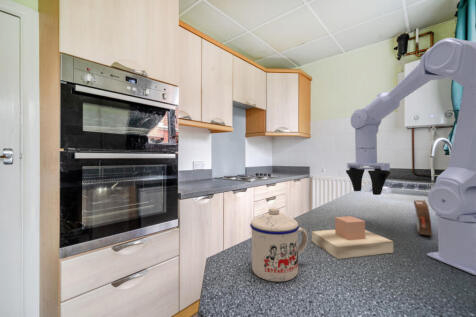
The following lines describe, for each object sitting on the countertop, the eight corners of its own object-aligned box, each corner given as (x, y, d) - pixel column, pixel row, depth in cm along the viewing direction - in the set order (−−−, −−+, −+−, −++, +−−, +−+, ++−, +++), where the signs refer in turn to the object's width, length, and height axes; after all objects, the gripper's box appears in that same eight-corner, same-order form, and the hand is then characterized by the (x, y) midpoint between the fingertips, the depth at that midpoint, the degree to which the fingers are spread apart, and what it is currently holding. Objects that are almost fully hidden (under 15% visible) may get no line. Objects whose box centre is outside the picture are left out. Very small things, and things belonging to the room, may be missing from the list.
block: (365, 238, 49) (365, 221, 49) (348, 240, 48) (347, 222, 48) (351, 232, 53) (351, 216, 53) (335, 233, 53) (335, 217, 53)
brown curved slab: (432, 240, 54) (432, 207, 54) (416, 237, 56) (416, 205, 56) (426, 225, 66) (426, 198, 66) (413, 223, 68) (413, 197, 68)
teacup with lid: (264, 288, 35) (263, 216, 35) (243, 263, 43) (243, 205, 43) (323, 274, 39) (322, 209, 39) (293, 253, 47) (293, 201, 47)
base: (393, 252, 47) (393, 241, 47) (337, 258, 44) (337, 246, 44) (359, 236, 57) (359, 227, 57) (311, 241, 54) (311, 231, 54)
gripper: (338, 150, 72) (339, 190, 72) (374, 147, 58) (375, 197, 58) (356, 150, 74) (357, 189, 74) (395, 147, 59) (396, 196, 59)
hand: (366, 192), depth 66 cm, fingers open, 7 cm apart
